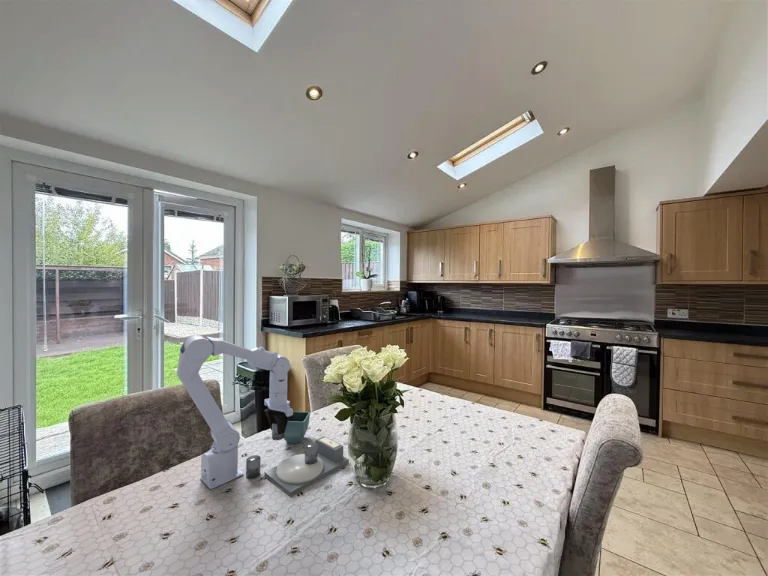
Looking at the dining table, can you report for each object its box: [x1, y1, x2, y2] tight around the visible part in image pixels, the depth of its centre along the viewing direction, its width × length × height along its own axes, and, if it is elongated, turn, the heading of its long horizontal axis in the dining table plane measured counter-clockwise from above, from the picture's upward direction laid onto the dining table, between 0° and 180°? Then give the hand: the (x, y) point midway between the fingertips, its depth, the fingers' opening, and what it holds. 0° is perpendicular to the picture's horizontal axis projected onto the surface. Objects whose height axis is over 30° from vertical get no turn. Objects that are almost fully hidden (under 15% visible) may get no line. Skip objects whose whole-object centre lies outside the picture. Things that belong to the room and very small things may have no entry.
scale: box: [263, 435, 350, 497], centre depth 99 cm, size 22×14×6 cm, turn 140°
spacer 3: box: [304, 442, 318, 465], centre depth 100 cm, size 4×4×5 cm
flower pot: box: [283, 411, 311, 444], centre depth 118 cm, size 9×9×9 cm
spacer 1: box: [245, 454, 261, 480], centre depth 96 cm, size 4×4×5 cm
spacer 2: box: [271, 421, 284, 441], centre depth 106 cm, size 4×4×5 cm
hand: (277, 431), depth 106 cm, fingers closed on spacer 2, 4 cm apart
